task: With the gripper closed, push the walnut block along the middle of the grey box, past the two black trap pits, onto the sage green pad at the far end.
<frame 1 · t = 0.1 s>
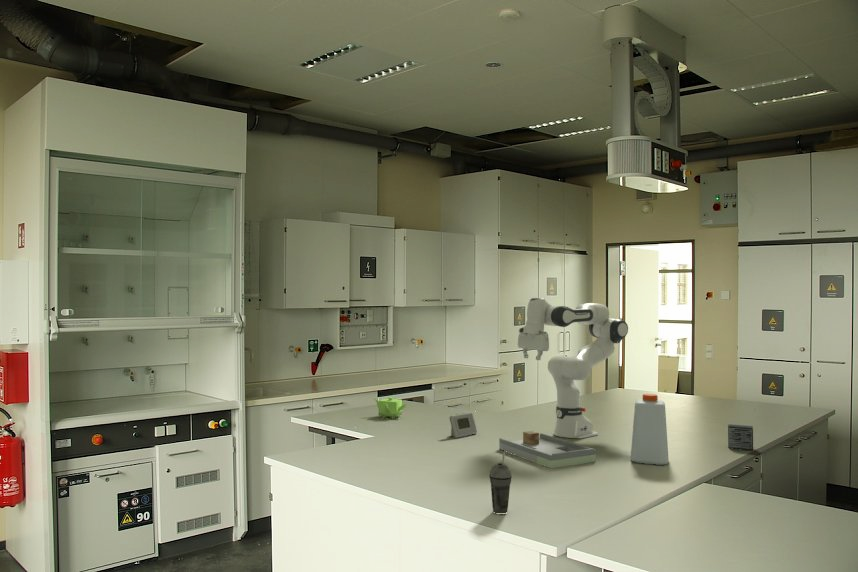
hand: (531, 359, 319), 39 cm above the lab bench, tool pointing down, fingers open, 8 cm apart
digital clock: (463, 436, 326), on the lab bench
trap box: (545, 455, 288), on the lab bench
beverage cup: (500, 513, 211), on the lab bench
small box: (740, 448, 306), on the lab bench
plastic bottle: (649, 461, 281), on the lab bench
kettle: (390, 417, 373), on the lab bench
walnut block: (530, 443, 297), point 3 cm above the lab bench, touching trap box
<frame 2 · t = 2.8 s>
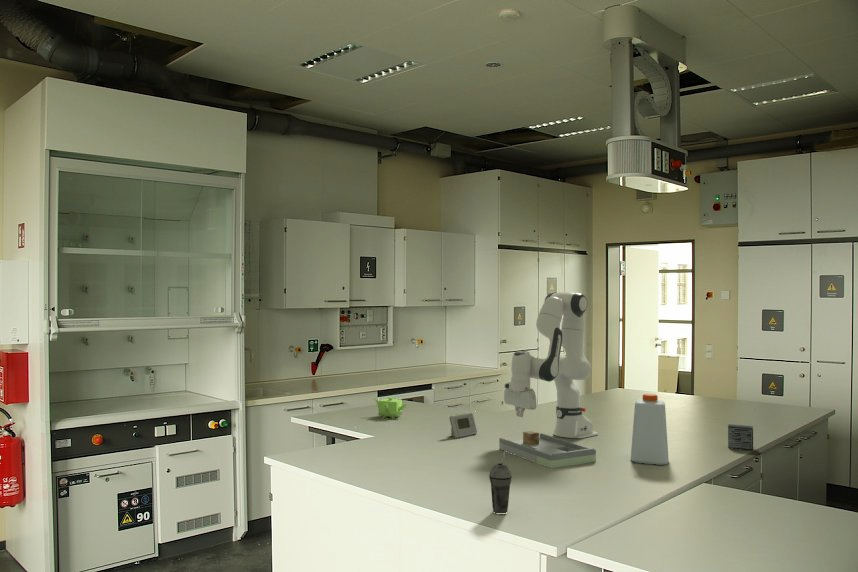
hand: (519, 416, 304), 14 cm above the lab bench, tool pointing down, fingers closed
nothing on the lab bench moved.
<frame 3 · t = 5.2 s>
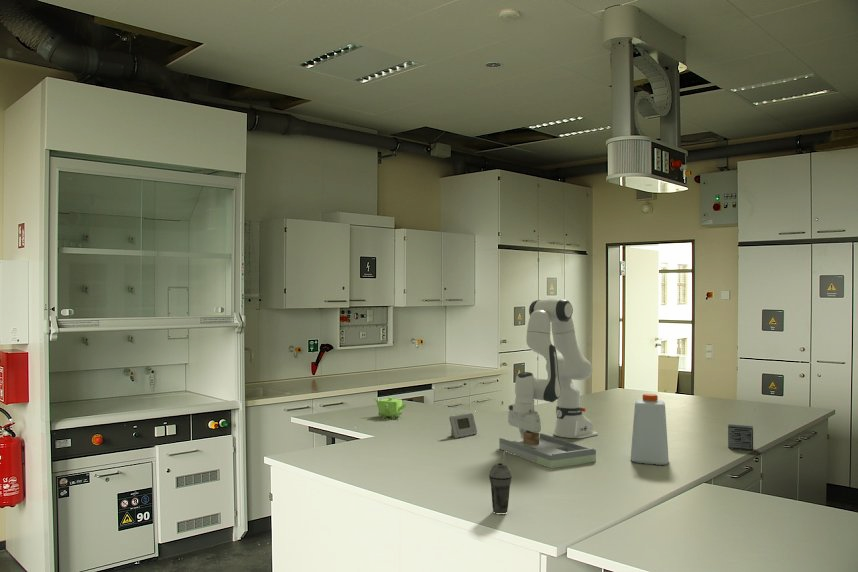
hand: (524, 438, 301), 4 cm above the lab bench, tool pointing down, fingers closed
walnut block: (531, 443, 297), point 3 cm above the lab bench, touching gripper
everything else where it was.
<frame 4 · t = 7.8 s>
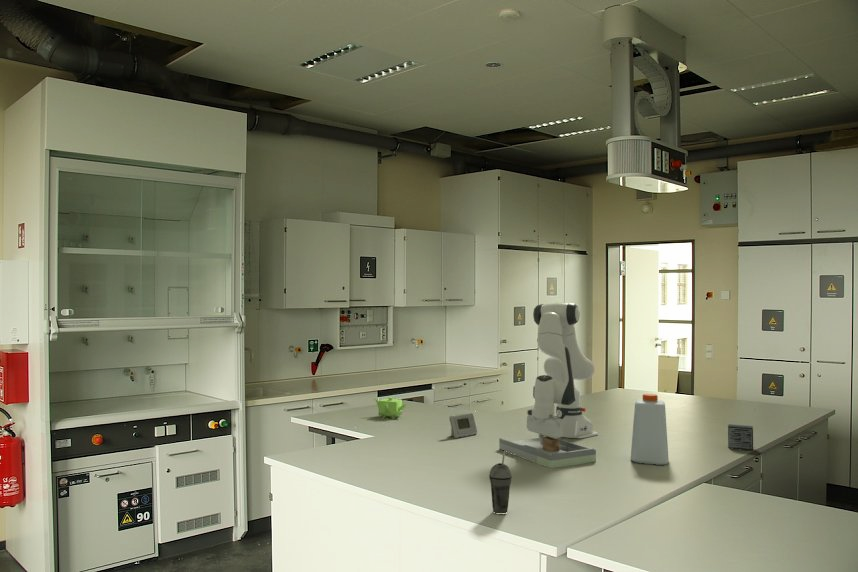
hand: (543, 445, 289), 4 cm above the lab bench, tool pointing down, fingers closed
walnut block: (550, 449, 284), point 3 cm above the lab bench, touching gripper, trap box
everything else where it was.
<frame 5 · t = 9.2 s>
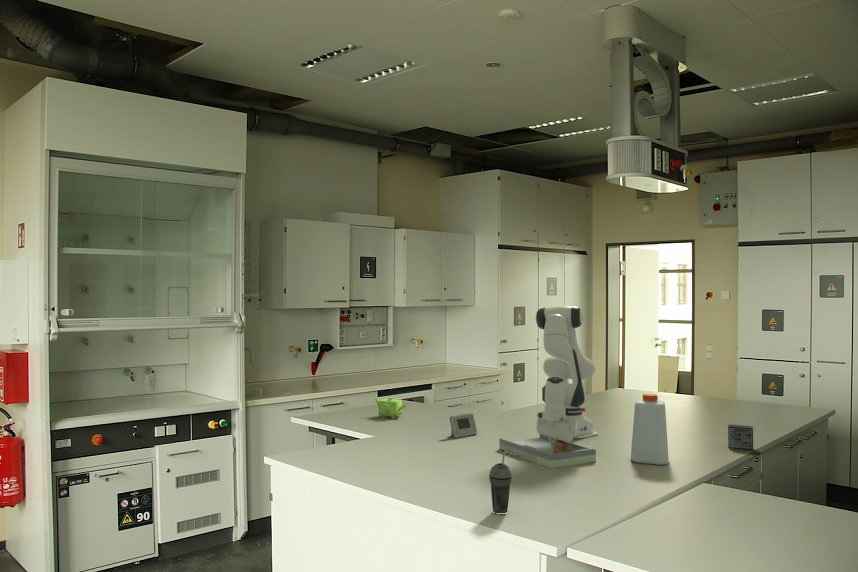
hand: (554, 448, 282), 4 cm above the lab bench, tool pointing down, fingers closed
walnut block: (561, 453, 278), point 3 cm above the lab bench, touching gripper
everything else where it was.
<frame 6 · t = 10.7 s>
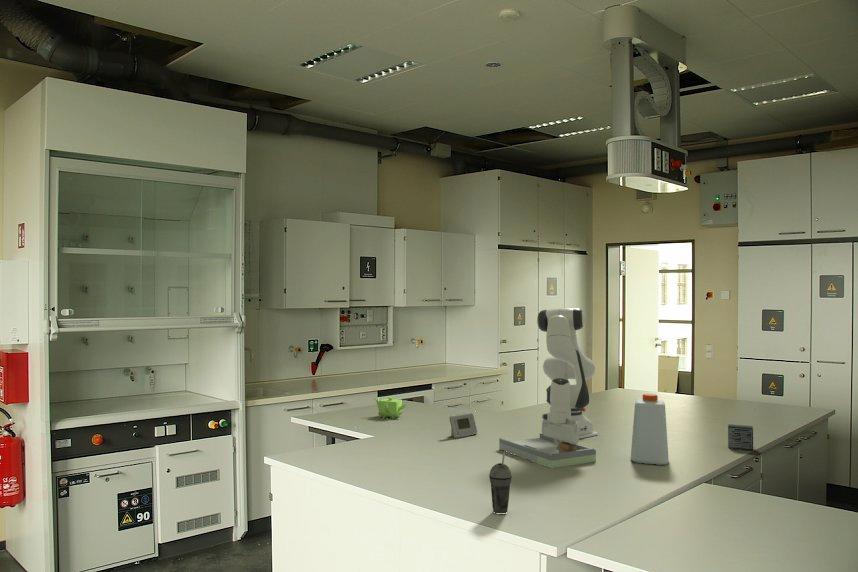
hand: (559, 450, 280), 4 cm above the lab bench, tool pointing down, fingers closed
walnut block: (567, 455, 275), point 3 cm above the lab bench, touching gripper, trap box
everything else where it was.
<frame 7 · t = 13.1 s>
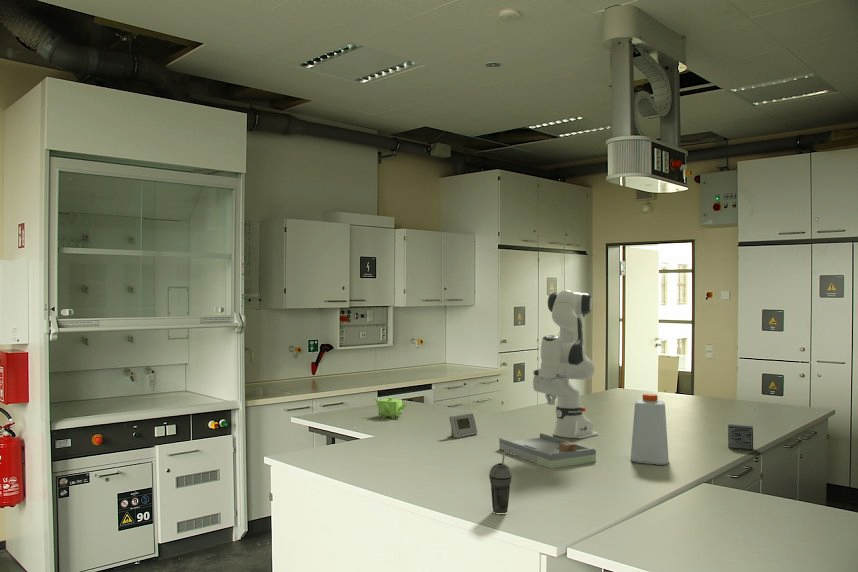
hand: (551, 404, 289), 22 cm above the lab bench, tool pointing down, fingers closed
walnut block: (567, 455, 275), point 3 cm above the lab bench, touching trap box
everything else where it was.
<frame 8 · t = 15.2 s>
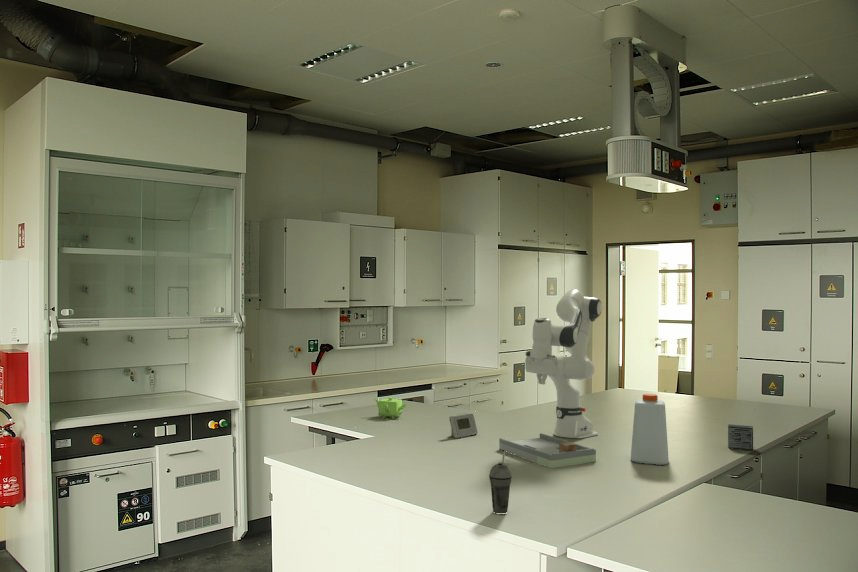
hand: (541, 384, 302), 29 cm above the lab bench, tool pointing down, fingers closed
nothing on the lab bench moved.
at the end: walnut block inside the target area on the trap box (1.3 cm from its centre), point 3.0 cm above the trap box's base; walnut block tilted 0° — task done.
